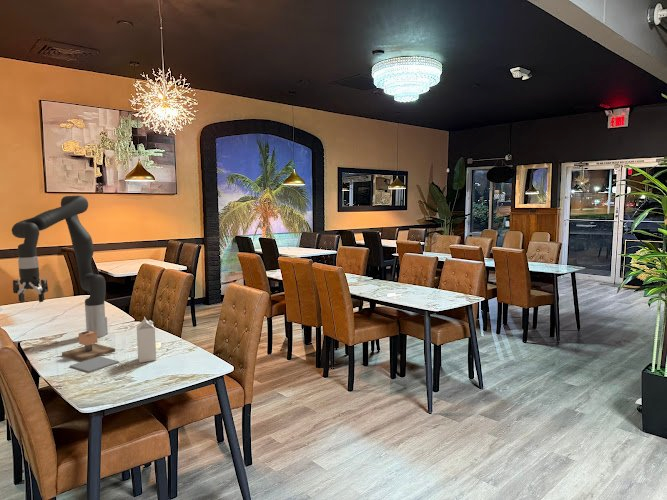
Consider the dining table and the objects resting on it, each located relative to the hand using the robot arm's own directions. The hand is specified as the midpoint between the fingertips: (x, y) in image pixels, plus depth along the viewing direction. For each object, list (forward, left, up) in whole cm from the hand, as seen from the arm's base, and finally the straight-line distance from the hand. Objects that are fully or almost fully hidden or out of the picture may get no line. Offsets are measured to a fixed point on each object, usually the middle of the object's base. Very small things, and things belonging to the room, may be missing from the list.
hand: (31, 302), depth 208 cm
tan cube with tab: (-16, +16, -21) cm, 31 cm away
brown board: (-16, +16, -26) cm, 34 cm away
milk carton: (-24, +47, -26) cm, 59 cm away
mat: (-8, +33, -26) cm, 43 cm away
